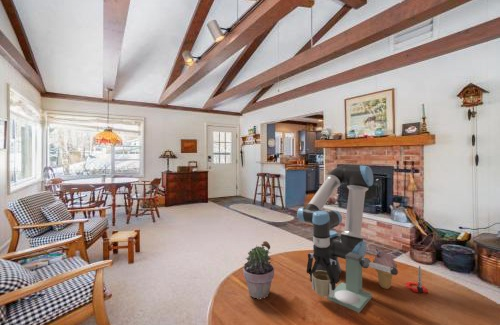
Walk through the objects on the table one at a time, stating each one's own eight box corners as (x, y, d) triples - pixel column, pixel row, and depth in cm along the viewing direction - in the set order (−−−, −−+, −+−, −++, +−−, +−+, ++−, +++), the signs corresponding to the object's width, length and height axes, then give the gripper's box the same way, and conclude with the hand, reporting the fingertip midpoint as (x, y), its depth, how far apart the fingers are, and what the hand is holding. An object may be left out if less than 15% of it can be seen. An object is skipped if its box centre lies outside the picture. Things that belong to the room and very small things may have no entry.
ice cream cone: (387, 294, 119) (387, 254, 118) (368, 284, 129) (368, 246, 128) (401, 288, 124) (401, 250, 123) (382, 279, 133) (382, 243, 133)
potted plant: (233, 302, 114) (232, 250, 114) (248, 282, 132) (247, 237, 132) (270, 310, 108) (269, 255, 107) (280, 287, 126) (279, 240, 126)
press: (326, 299, 115) (326, 259, 115) (341, 285, 127) (341, 249, 127) (358, 313, 105) (358, 269, 104) (372, 297, 117) (372, 257, 116)
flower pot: (333, 289, 117) (332, 271, 116) (333, 300, 108) (332, 281, 107) (313, 286, 120) (312, 269, 119) (311, 297, 111) (311, 278, 110)
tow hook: (402, 283, 129) (411, 292, 120) (402, 259, 130) (411, 266, 120) (420, 285, 128) (430, 294, 119) (419, 260, 128) (429, 267, 119)
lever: (359, 266, 116) (359, 258, 116) (362, 264, 118) (362, 256, 118) (396, 278, 105) (396, 268, 105) (398, 275, 107) (398, 266, 107)
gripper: (297, 241, 117) (299, 287, 118) (340, 253, 103) (341, 305, 104) (306, 237, 123) (307, 281, 124) (347, 248, 108) (348, 297, 109)
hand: (322, 292), depth 114 cm, fingers closed on flower pot, 8 cm apart
